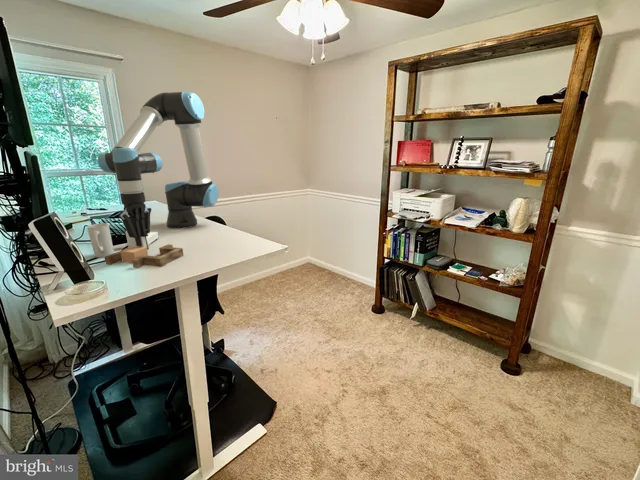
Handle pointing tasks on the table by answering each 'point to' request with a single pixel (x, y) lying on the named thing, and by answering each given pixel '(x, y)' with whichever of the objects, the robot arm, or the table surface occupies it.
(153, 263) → the brown wooden puzzle piece
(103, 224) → the mug
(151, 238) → the bracket
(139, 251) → the block
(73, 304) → the table surface
